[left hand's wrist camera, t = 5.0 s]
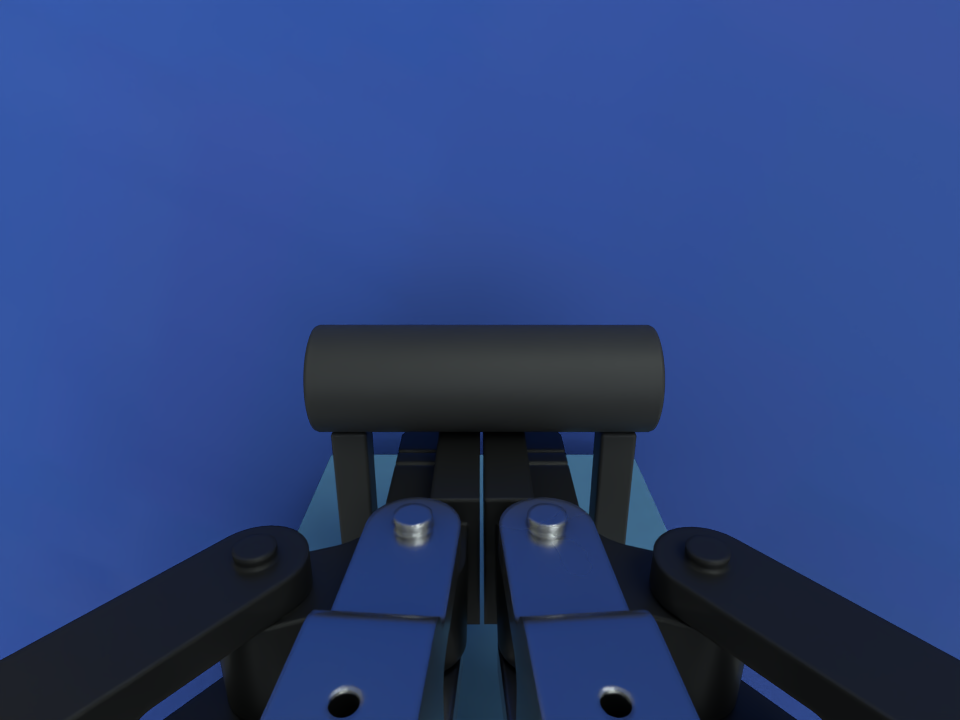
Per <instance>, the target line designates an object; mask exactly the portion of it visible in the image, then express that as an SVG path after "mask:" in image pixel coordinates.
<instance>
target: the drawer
mask: <svg viewBox="0 0 960 720" xmlns="http://www.w3.org/2000/svg"><path fill="white" fill-rule="evenodd" d="M303 386H304V400H305V406H306V411H307V415H308V419H309V422H310V424H311V426H312V428H313V429H314V430H316V431H319V432H332V435H331V440H332V450H333V455H331V457H330V459H329V461H328V464H327V466H326V468H325V471H324V473H323V475H322V477H321V480H320V482H319V484H318V486H317V489H316V491H315V493H314V496H313V498H312V500H311V502H310V505H309V507H308V509H307V511H306V514H305V516H304V518H303V521H302V523H301V525H300V527H299V530H298V532H299V533H301V534H302V535H303V536H304V537H305V538H306V540H307V542H308V544H309V551H313V550H318V549H323V548H327V547H332V546H336V545H340V544H344V543H347V542H350V541H352V540H355V539H357V538H359V537H361V534H362V532H363V529H364V527H365V524H366V522H367V520H368V518H369V517H370V516H371V514H372V513H373V512H374V511H376V510H377V509H378V508H380V507H382V506H383V505H385V504H386V500H387V496H388V492H389V488H390V484H391V480H392V476H393V472H394V467H395V466H396V459H397V455H374V449H373V435H372V432H595V438H594V452H593V455H566V457H567V461H568V465H569V469H570V473H571V477H572V480H573V484H574V488H575V492H576V496H577V500H578V504H579V507H580V508H582V509H583V510H584V511H586V512H587V513H588V514H589V516H590V517H591V518H592V520H593V522H594V524H595V527H596V529H597V532H598V533H599V534H601V535H602V536H604V537H606V538H608V539H610V540H613V541H615V542H618V543H621V544H625V545H629V546H634V547H638V548H643V549H647V550H652V551H653V547H654V544H655V541H656V540H657V539H658V537H659V536H661V535H662V534H663V533H665V532H667V529H666V527H665V525H664V523H663V521H662V518H661V516H660V514H659V512H658V510H657V507H656V505H655V503H654V501H653V499H652V496H651V494H650V492H649V490H648V488H647V485H646V483H645V481H644V479H643V476H642V474H641V472H640V470H639V468H638V465H637V463H636V461H635V459H634V454H635V444H636V434H635V432H649V431H652V430H654V429H655V428H656V426H657V424H658V422H659V419H660V416H661V412H662V408H663V402H664V392H665V367H664V358H663V351H662V347H661V343H660V339H659V337H658V334H657V332H656V330H655V329H654V328H653V327H651V326H649V325H319V326H316V327H315V328H314V329H313V330H312V332H311V334H310V337H309V340H308V343H307V347H306V353H305V360H304V375H303ZM497 655H498V636H497V624H484V549H483V455H480V624H467V642H466V648H465V650H464V653H463V671H462V679H461V687H460V695H459V703H458V711H457V720H503V711H502V703H501V695H500V687H499V679H498V671H497Z"/></svg>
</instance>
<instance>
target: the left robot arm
mask: <svg viewBox="0 0 960 720" xmlns="http://www.w3.org/2000/svg"><path fill="white" fill-rule="evenodd" d="M483 549H484V624H497V636H498V655H497V671H498V679H499V687H500V695H501V703H502V711H503V720H797V719H795V718H794V717H792V716H791V715H790V714H788V713H787V712H785V711H784V710H783V709H781V708H780V707H778V706H777V705H776V704H774V703H773V702H771V701H770V700H769V699H767V698H766V697H764V696H763V695H762V694H760V693H759V692H758V691H756V690H755V689H753V688H752V687H751V686H749V685H748V684H746V683H745V682H744V681H742V680H741V677H742V672H743V667H744V664H745V665H747V666H748V667H750V668H751V669H753V670H754V671H756V672H757V673H758V674H760V675H761V676H763V677H764V678H766V679H767V680H769V681H770V682H771V683H773V684H774V685H776V686H777V687H779V688H780V689H781V690H783V691H784V692H786V693H787V694H789V695H790V696H792V697H793V698H794V699H796V700H797V701H799V702H800V703H802V704H803V705H805V706H806V707H807V708H809V709H810V710H812V711H813V712H814V713H816V714H817V715H818V716H819V717H820V718H821V719H822V720H960V660H958V659H956V658H955V657H953V656H951V655H949V654H947V653H945V652H944V651H942V650H940V649H938V648H936V647H934V646H932V645H931V644H929V643H927V642H925V641H923V640H921V639H920V638H918V637H916V636H914V635H912V634H910V633H908V632H907V631H905V630H903V629H901V628H899V627H897V626H896V625H894V624H892V623H890V622H888V621H886V620H884V619H883V618H881V617H879V616H877V615H875V614H873V613H872V612H870V611H868V610H866V609H864V608H862V607H860V606H859V605H857V604H855V603H853V602H851V601H849V600H848V599H846V598H844V597H842V596H840V595H838V594H836V593H835V592H833V591H831V590H829V589H827V588H825V587H824V586H822V585H820V584H818V583H816V582H814V581H812V580H811V579H809V578H807V577H805V576H803V575H801V574H800V573H798V572H796V571H794V570H792V569H790V568H789V567H787V566H785V565H783V564H781V563H779V562H777V561H776V560H774V559H772V558H770V557H768V556H766V555H765V554H763V553H761V552H759V551H757V550H755V549H753V548H752V547H750V546H748V545H746V544H744V543H742V542H741V541H739V540H737V539H735V538H733V537H731V536H729V535H727V534H724V533H721V532H718V531H715V530H711V529H706V528H700V527H682V528H676V529H672V530H669V531H667V532H665V533H663V534H662V535H661V536H659V537H658V539H657V540H656V541H655V544H654V547H653V551H652V550H647V549H643V548H638V547H634V546H629V545H625V544H621V543H618V542H615V541H613V540H610V539H608V538H606V537H604V536H602V535H601V534H599V533H598V532H597V529H596V527H595V524H594V522H593V520H592V518H591V517H590V516H589V514H588V513H587V512H586V511H584V510H583V509H582V508H580V507H579V504H578V500H577V496H576V492H575V488H574V484H573V480H572V477H571V473H570V469H569V465H568V461H567V457H566V453H565V449H564V445H563V441H562V437H561V435H560V434H559V433H558V432H483ZM467 624H480V432H405V433H404V434H403V435H402V439H401V443H400V447H399V453H398V455H397V459H396V466H395V467H394V472H393V476H392V480H391V484H390V488H389V492H388V496H387V500H386V504H385V505H383V506H382V507H380V508H378V509H377V510H376V511H374V512H373V513H372V514H371V516H370V517H369V518H368V520H367V522H366V524H365V527H364V529H363V532H362V534H361V537H359V538H357V539H355V540H352V541H350V542H347V543H344V544H340V545H336V546H332V547H327V548H323V549H318V550H313V551H309V544H308V542H307V540H306V538H305V537H304V536H303V535H302V534H301V533H299V532H298V531H296V530H294V529H291V528H288V527H282V526H260V527H255V528H250V529H247V530H243V531H240V532H238V533H235V534H233V535H231V536H229V537H227V538H225V539H223V540H221V541H219V542H218V543H216V544H214V545H212V546H210V547H208V548H207V549H205V550H203V551H201V552H199V553H197V554H196V555H194V556H192V557H190V558H188V559H186V560H184V561H183V562H181V563H179V564H177V565H175V566H173V567H172V568H170V569H168V570H166V571H164V572H162V573H160V574H159V575H157V576H155V577H153V578H151V579H149V580H148V581H146V582H144V583H142V584H140V585H138V586H136V587H135V588H133V589H131V590H129V591H127V592H125V593H124V594H122V595H120V596H118V597H116V598H114V599H112V600H111V601H109V602H107V603H105V604H103V605H101V606H100V607H98V608H96V609H94V610H92V611H90V612H88V613H87V614H85V615H83V616H81V617H79V618H77V619H76V620H74V621H72V622H70V623H68V624H66V625H64V626H63V627H61V628H59V629H57V630H55V631H53V632H52V633H50V634H48V635H46V636H44V637H42V638H40V639H39V640H37V641H35V642H33V643H31V644H29V645H28V646H26V647H24V648H22V649H20V650H18V651H17V652H15V653H13V654H11V655H9V656H7V657H5V658H4V659H2V660H0V720H139V719H140V718H141V717H142V716H143V715H144V714H145V713H146V712H147V711H149V710H150V709H151V708H153V707H154V706H156V705H157V704H158V703H160V702H161V701H163V700H164V699H166V698H167V697H168V696H170V695H171V694H173V693H174V692H176V691H177V690H179V689H180V688H181V687H183V686H184V685H186V684H187V683H189V682H190V681H192V680H193V679H194V678H196V677H197V676H199V675H200V674H202V673H203V672H204V671H206V670H207V669H209V668H210V667H212V666H213V665H215V664H216V663H217V662H219V661H220V663H221V668H222V673H223V677H222V678H221V679H219V680H218V681H216V682H215V683H214V684H212V685H211V686H209V687H208V688H207V689H205V690H204V691H202V692H201V693H200V694H198V695H197V696H196V697H194V698H193V699H191V700H190V701H189V702H187V703H186V704H184V705H183V706H182V707H180V708H179V709H177V710H176V711H175V712H173V713H172V714H170V715H169V716H168V717H166V718H165V719H163V720H457V711H458V703H459V695H460V687H461V679H462V671H463V653H464V650H465V648H466V642H467Z"/></svg>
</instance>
